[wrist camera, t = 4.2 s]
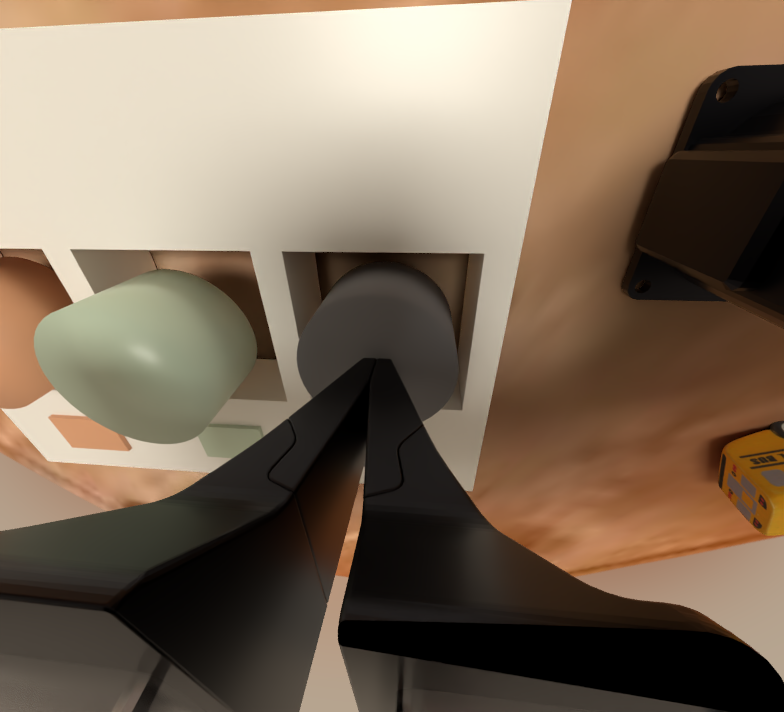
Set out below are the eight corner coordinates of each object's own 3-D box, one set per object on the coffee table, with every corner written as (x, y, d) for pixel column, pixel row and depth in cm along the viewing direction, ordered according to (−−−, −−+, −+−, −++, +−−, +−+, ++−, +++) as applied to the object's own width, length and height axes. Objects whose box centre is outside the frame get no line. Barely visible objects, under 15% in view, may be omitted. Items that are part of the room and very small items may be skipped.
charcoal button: (457, 262, 10) (468, 297, 8) (446, 379, 13) (451, 433, 11) (315, 260, 11) (281, 293, 8) (331, 374, 13) (309, 425, 11)
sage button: (236, 270, 10) (173, 309, 8) (269, 389, 13) (231, 448, 10) (97, 268, 10) (-8, 305, 8) (157, 384, 13) (93, 439, 11)
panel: (530, 42, 9) (576, -6, 6) (465, 442, 17) (473, 495, 15) (-148, 71, 11) (-342, 43, 8) (97, 420, 19) (44, 464, 17)
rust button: (68, 257, 12) (-31, 286, 9) (129, 365, 14) (65, 412, 12) (-48, 255, 12) (-173, 283, 9) (32, 361, 15) (-50, 405, 12)
